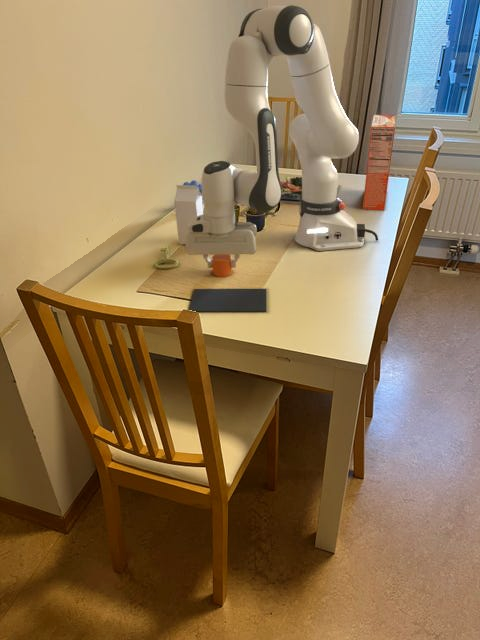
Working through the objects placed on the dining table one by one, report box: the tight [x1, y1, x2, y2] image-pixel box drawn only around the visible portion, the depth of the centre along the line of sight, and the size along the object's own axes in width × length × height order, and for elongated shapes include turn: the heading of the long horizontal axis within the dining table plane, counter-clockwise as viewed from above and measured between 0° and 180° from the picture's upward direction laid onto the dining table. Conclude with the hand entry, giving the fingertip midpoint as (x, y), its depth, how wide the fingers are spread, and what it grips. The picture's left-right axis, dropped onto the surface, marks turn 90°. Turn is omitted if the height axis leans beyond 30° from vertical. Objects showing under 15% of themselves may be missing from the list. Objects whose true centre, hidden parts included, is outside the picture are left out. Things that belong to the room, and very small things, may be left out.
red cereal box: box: [362, 114, 396, 211], centre depth 192 cm, size 23×8×30 cm, turn 165°
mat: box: [188, 288, 267, 313], centre depth 134 cm, size 20×12×1 cm, turn 88°
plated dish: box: [279, 175, 340, 205], centre depth 209 cm, size 35×28×7 cm
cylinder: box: [211, 254, 233, 278], centre depth 147 cm, size 6×6×5 cm
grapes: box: [182, 179, 204, 207], centre depth 192 cm, size 12×7×12 cm, turn 73°
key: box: [153, 246, 179, 270], centre depth 155 cm, size 7×12×2 cm, turn 23°
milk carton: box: [174, 184, 204, 245], centre depth 164 cm, size 7×7×19 cm
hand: (221, 267), depth 147 cm, fingers closed on cylinder, 5 cm apart
